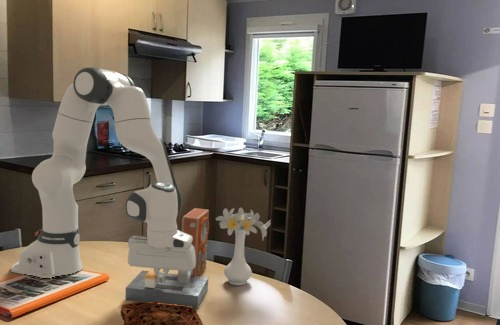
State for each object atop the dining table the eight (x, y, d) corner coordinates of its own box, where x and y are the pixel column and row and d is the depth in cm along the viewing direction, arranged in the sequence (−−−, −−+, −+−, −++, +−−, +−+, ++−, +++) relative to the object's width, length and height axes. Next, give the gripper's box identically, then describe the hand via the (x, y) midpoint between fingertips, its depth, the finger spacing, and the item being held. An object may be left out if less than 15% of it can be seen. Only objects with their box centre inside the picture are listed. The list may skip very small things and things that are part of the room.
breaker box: (125, 300, 139) (125, 275, 138) (142, 282, 153) (142, 259, 152) (197, 308, 137) (198, 283, 136) (207, 289, 151) (208, 266, 149)
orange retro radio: (209, 265, 171) (196, 281, 156) (190, 263, 172) (176, 278, 158) (212, 208, 168) (199, 219, 153) (193, 206, 169) (178, 217, 154)
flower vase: (266, 291, 152) (272, 216, 148) (210, 287, 152) (214, 213, 148) (266, 276, 165) (271, 207, 161) (214, 272, 165) (218, 203, 161)
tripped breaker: (144, 287, 139) (144, 275, 139) (149, 281, 144) (149, 270, 143) (154, 288, 139) (154, 276, 138) (159, 282, 143) (159, 271, 143)
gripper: (124, 237, 137) (124, 282, 139) (192, 243, 135) (191, 289, 137) (132, 231, 143) (132, 275, 145) (197, 236, 141) (196, 280, 143)
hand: (161, 281), depth 141 cm, fingers closed
